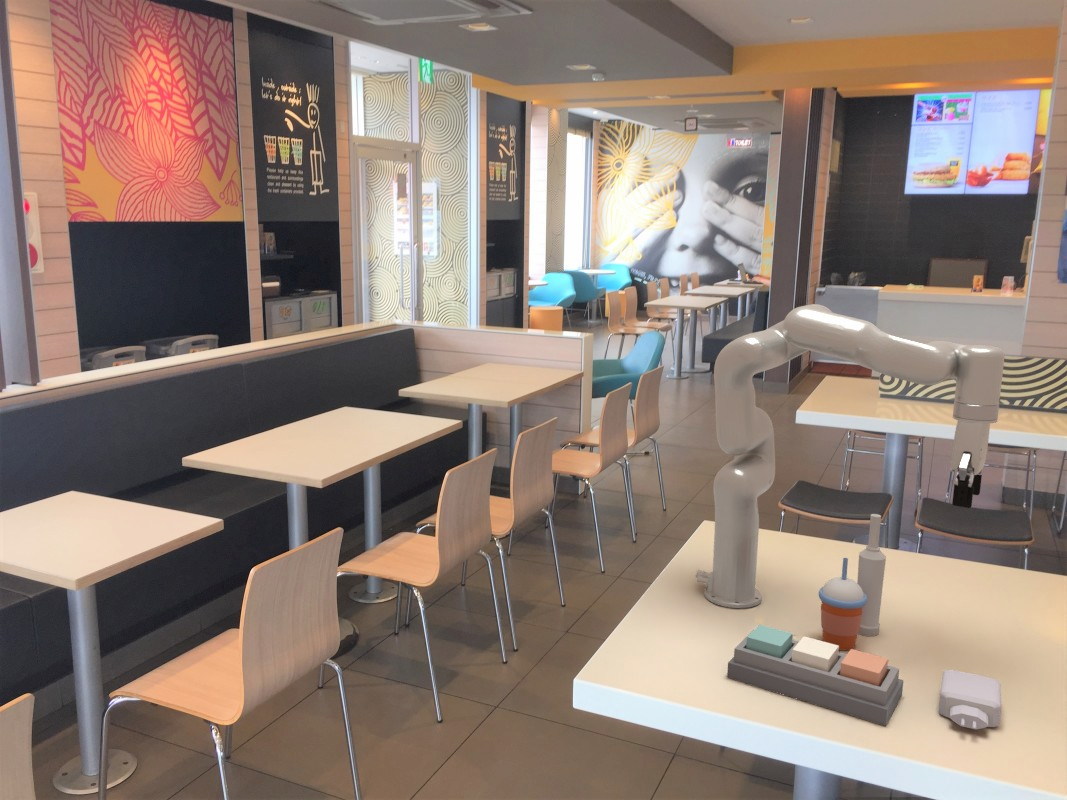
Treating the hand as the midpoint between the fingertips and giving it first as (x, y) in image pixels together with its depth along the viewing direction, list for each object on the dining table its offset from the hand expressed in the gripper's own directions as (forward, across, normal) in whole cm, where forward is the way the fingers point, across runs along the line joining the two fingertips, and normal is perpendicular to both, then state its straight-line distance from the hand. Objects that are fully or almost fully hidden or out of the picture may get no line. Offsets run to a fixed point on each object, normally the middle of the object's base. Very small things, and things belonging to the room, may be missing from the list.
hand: (966, 499), depth 167 cm
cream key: (+27, +29, -18) cm, 43 cm away
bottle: (+31, 0, -16) cm, 35 cm away
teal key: (+27, +29, -27) cm, 47 cm away
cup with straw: (+31, +9, -19) cm, 38 cm away
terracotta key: (+27, +29, -9) cm, 40 cm away
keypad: (+31, +29, -18) cm, 46 cm away
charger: (+32, +24, +7) cm, 40 cm away
